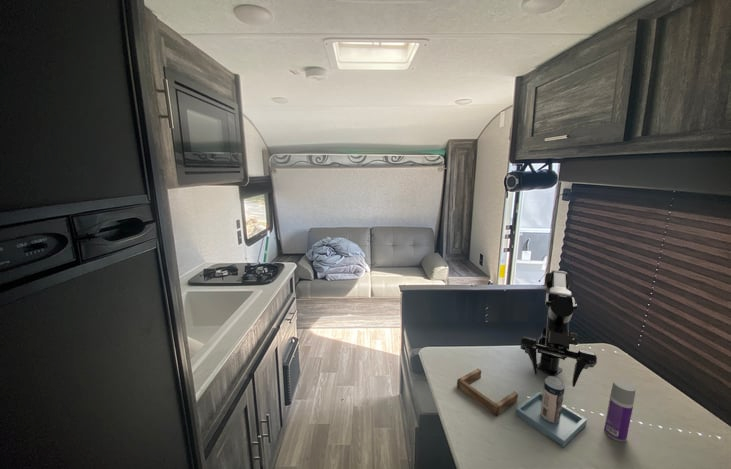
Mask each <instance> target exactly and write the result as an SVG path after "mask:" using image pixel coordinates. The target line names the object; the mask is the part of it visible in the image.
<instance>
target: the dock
mask: <svg viewBox="0 0 731 469" xmlns="http://www.w3.org/2000/svg"><path fill="white" fill-rule="evenodd" d="M481 375H482V370H481V369H480V368H476V369H474V370H473V371H471V372H469V373H467V374H465V375H463V376H461V377H460V378H457V381H456V388H457V389H458V390H460V391H461V392H462V393H463V394H465V395H467V396H468V397H469V398H470V399H471V400H473V401H474V402H476V403H477V404H478V405H480V406H481V407H483V408H484V409H485V410H486V411H488V412H489V413H491V414H492V415H493V416H494V417H498V416H499V415H501V414H503V412H506V410H508V409H509V408H511V407H512V406H514V405H515V404H517V403H518V397H519V393H517V392H516V391H515V390H514V391H512V392H511V393H510V394H508V395H507V396H505V397H503V398H502V399H500V400H498V401H497V402H494V401H493V400H492V399H490V398H489V397H488V396H486V395H484V394H483V393H482V392H480V391H479V390H477V389H476V388H475V387H473V386H472V385H471V384H472V383H474V382H475V381H478V380H479V379H481Z"/></svg>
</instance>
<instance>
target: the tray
mask: <svg viewBox="0 0 731 469" xmlns="http://www.w3.org/2000/svg"><path fill="white" fill-rule="evenodd" d="M542 397H543V392H541V391H537V392H536V393H535V394H533V395H532V396H530V397H529V398H528V399H526V400H525V401H523V402H522V403H520V404H519V405H518V406H516V407H515V411H514V414H515V415H516V416H517V417H519V418H520V419H522V420H523V421H525V422H526V423H527V424H528V425H530V426H531V427H533V428H534V429H536V430H537V431H539V432H540V433H542V434H543V435H545V436H546V437H547V438H549V439H550V440H552V441H553V442H555V443H556V444H557V445H559V447H562V448H564V447H565V446H567V444H568V443H569V442H571V440H573V438H575V437H576V436H577V435H578V433H579V434H580V432H581V431H582V430H583V429H584V428H585V427H586V426H587V421H588V419H587V418H586V417H584V416H582V415H581V414H579V413H577V412H575V411H574V410H572V409H570V408H568V407H567V406H565V405H563V404H562V409H561V416H560V421H559V422H558V423H552V422H549V421H547V420H545V419H544V418H543V417H542V416H541V413H540V412H541V405H542Z"/></svg>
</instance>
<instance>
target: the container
mask: <svg viewBox="0 0 731 469" xmlns="http://www.w3.org/2000/svg"><path fill="white" fill-rule="evenodd" d="M636 391H637V389H636V387H635V386H634V385H633V384H632V383H630V382H628V381H625V380H622V379H614V380H613V383H612V385H611V390H610V395H609V401H608V406H607V410H606V411H607V412H606V417H605V422H604V429H603V431H604V433H605V435H607V436H609V437H610V439H612V440H615V441H617V442H625V441H627V439H628V434H629V428H630V423H631V418H632V415H633V409H634V402H635V396H636Z"/></svg>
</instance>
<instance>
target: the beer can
mask: <svg viewBox="0 0 731 469" xmlns="http://www.w3.org/2000/svg"><path fill="white" fill-rule="evenodd" d="M543 384H544V385H543V390H542V393H543V397H542V405H541V412H540V413H541V416H542V417H543V418H544V419H545V420H547V421H549V422H552V423H558V422H559V421H560V416H561V409H562V405H563V402H564V401H563V400H564V394H565V387H566V386H565V384H564V381H563V379H561V378H559V377H557V376H556V375H555V376H552V375H548V376H547V377H546V378H545V379H544V383H543Z"/></svg>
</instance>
